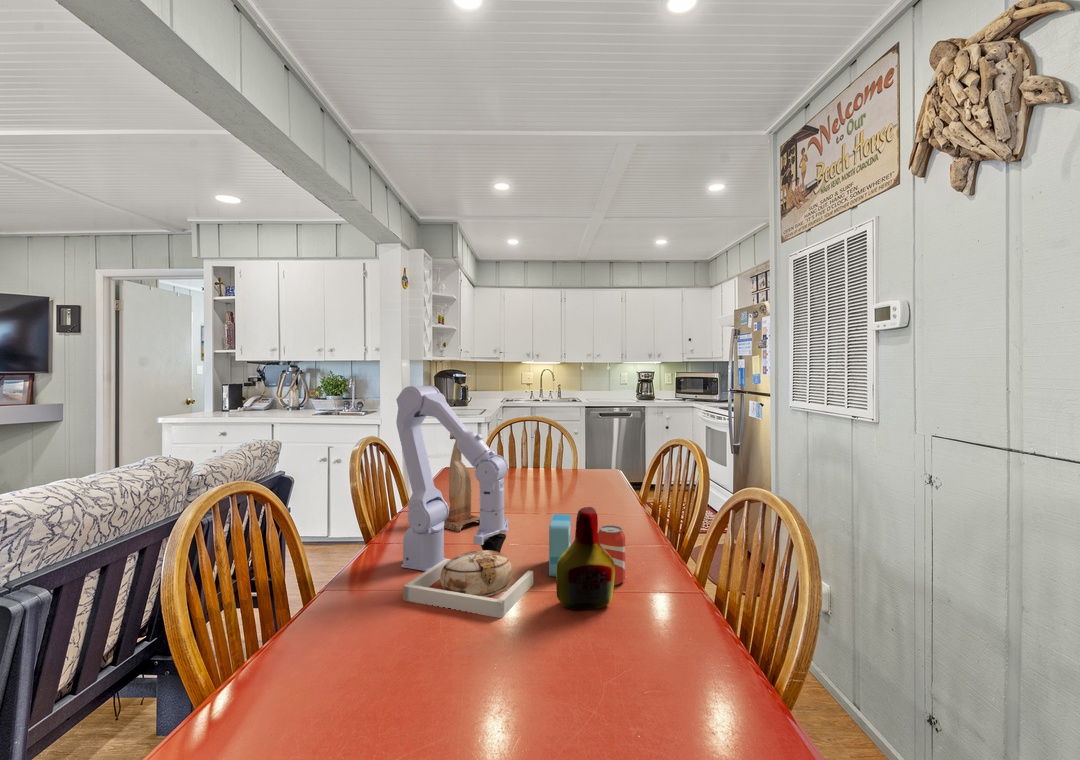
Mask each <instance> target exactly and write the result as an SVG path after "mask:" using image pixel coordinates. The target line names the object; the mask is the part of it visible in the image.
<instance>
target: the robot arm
mask: <svg viewBox="0 0 1080 760" xmlns="http://www.w3.org/2000/svg"><path fill="white" fill-rule="evenodd" d="M396 404H397V407H398V409H397V415H396V427H397V432H398V437H399V439H400V440H399V441H400V444H401V445H400V446H401V449H402V453H403V458H404V462H405V467H406V471H407V475H408V479H409V484H410V488H411V495H410V497H409V500H408V501H407V508H408V514H407V522H408V523H407V524H408V525H409V527H408V528H407V530H406V531H405V533H404V536H403V539H402V558H403V559H402V564H401V565H400V566H401V568H403V569H404V568H405V569H411V570H416V571H423V572H426V571H427V570H429V569H430V568H432V567H433V566H435V565H436V564H438V563H440V562H441V561H443V560H444V559H447V558H446V557H445V531H444V530H445V528H444V521H445V520H446V519H447V517H448V515H449V509H450V506H449V505H448V503H447V502H446V500H445V499H444V497H443V493H442V492H441V490H440V489H438V488H436V486H435V483H434V478H433V474H432V470H431V465H430V461H429V459H428V457H429V456H428V453H427V449H426V445H425V444H426V443H425V441H424V436H423V432H422V427H421V425H422V423H423V422H424V421H425V419H426V417H428V416H429V417H434V418H435V419H436V420H437V421H439V423H440V424H441V425H442V426H443V427H444V428H445V429H446V430H447V431H448V432H449V434H450V433H451V434H452V435H453V436H454V437H455V438H456V439H457V448H458V449H459V451H460V452H461V455H463V457H464V458H465V459H466V460H467V461H468V462H469V464H470V465H471V466H472V467H473V469H474V475H475V476H474V477H475V478H476V480H477V481H478V485H479V486H478V487H479V517H480V523H479V526H478V528H477V531H476V534H474V535H473V545H476V546H480V547H481V550H491V551H496V552H499V553H501V550H502V547H503V545H504V542H505V540H506V538H507V533H508V532H509V530H510V529H509V518H505V478H504V477H506V476H507V474H508V471H509V466H508V463H507V461H506V458H505V457H504V456H502V455H500V454H496V452H495V450H494V449H493V450H492V449H491V448H490V447H489V446H488V445H487V443H486V442H485V441H484V440H483V439H484V437H483V435H482V434H481V433H478V432H476V431H470V430H468V428H467V427H466V426H465V424H464V423H463V421H461V419H460V418H459V417H458V415H457V414H456V413H455V411H454V410H453V409H452V408H451V406H450V405H449V403H448V402H447V400H446V397H445V395H444V394H443V393H441V392H440V390H439V388H437V387H436V386H435V385H432V384H429V385H419V386H414V385H409V386H406V387H404V388H403V389H402V390H401V391H400V393H399V394H398V396H397V397H396ZM449 559H450V561H451V560H452V559H451V558H449Z"/></svg>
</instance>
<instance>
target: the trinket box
mask: <svg viewBox="0 0 1080 760" xmlns="http://www.w3.org/2000/svg"><path fill="white" fill-rule="evenodd" d="M512 572H513V568H512V564H511V561H510V560H509V559H508V557H507V556H506V555H505V554H504V553H502V552H500V553H499V552H496V551H491V550H482V549H480V550H471V551H468V552H464V553H462V554H458V555H457V556H455V557H453V558H452V559H451V561H449V562H448V563H447V564H446V565H445V566H444V567H443V569H442V571H441V576H440V579H439V580H440V586H441V588H442V590H447V591H452V592H458V593H464V594H470V595H476V596H482V597H488V598H489V597H491V596H495V595H497V594H500V593H502V592H503V591H505V590H506V589H508V586H509V583H510V581H511V578H512V574H513V573H512Z"/></svg>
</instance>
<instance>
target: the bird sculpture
mask: <svg viewBox="0 0 1080 760" xmlns="http://www.w3.org/2000/svg"><path fill="white" fill-rule="evenodd" d="M449 434H450V435H449V440H455V442H454V444H453V448H452V452H451V457H450V460H449V461H450V462H449V473H448V502H449V505H450V506H449V515H448V517H447V519H446V520H445V521H444V529H445V528H447V529H446V530H448V529H450V531H451V530H452V531H454V530H455V531H460V532H461V529H462V528H463V527H464V526H465V525H466V524H470V523H472V522H476V521H478V522H477V523H479V522H480V516H476V515H473V514H472V479H471V478H472V477H471V473H470V472H469V470H468V468H467V467H466V466H467V465H465V464H464V463H463V461H462V453H461V452H460V451H459V449H458V448H457V439H456V438H455V437H454V436H453V435H452V434H451V433H450V432H449ZM455 531H454V532H455Z"/></svg>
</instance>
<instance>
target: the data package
mask: <svg viewBox="0 0 1080 760" xmlns="http://www.w3.org/2000/svg"><path fill="white" fill-rule="evenodd" d="M571 515H572V514H560V513H558V514H557V513H553V514H552V516H551V519H550V522H549V523H550V524H549V526H548V528H549V529H548V574H549V577H555V578H556V567H557V562H558V560H559V558H560V557H561V555H562V554H563V553H564V552H565V551H566V550H567V548H568V547H570V546H571V545H572V517H571Z"/></svg>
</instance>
